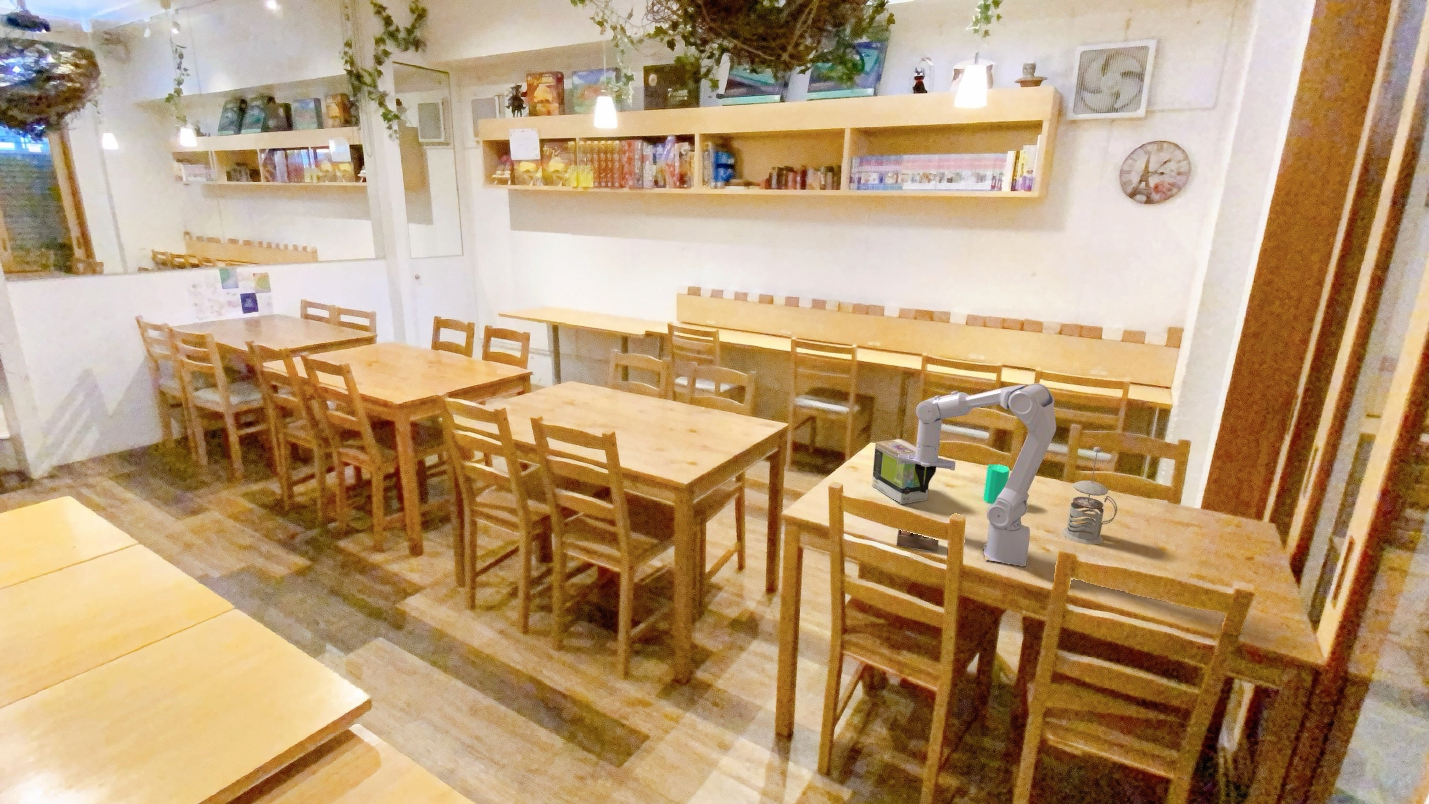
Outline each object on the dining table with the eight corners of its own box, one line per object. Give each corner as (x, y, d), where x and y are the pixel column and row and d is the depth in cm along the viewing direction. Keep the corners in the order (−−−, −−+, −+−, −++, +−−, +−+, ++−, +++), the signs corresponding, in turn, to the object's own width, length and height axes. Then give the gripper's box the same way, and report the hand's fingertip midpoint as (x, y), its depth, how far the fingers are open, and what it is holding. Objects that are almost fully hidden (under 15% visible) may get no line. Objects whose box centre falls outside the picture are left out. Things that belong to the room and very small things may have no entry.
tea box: (928, 500, 204) (933, 453, 199) (900, 505, 200) (904, 457, 196) (897, 481, 217) (901, 437, 213) (870, 486, 213) (874, 441, 209)
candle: (981, 502, 203) (986, 464, 199) (984, 494, 208) (989, 457, 204) (1003, 506, 200) (1009, 468, 197) (1005, 498, 205) (1011, 461, 202)
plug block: (937, 544, 178) (939, 533, 177) (937, 552, 174) (938, 541, 173) (897, 538, 181) (898, 527, 180) (896, 545, 177) (897, 535, 176)
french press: (1066, 523, 190) (1081, 437, 183) (1114, 536, 183) (1131, 447, 176) (1057, 536, 183) (1072, 447, 175) (1106, 550, 175) (1123, 458, 168)
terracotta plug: (913, 535, 179) (914, 522, 178) (912, 541, 176) (913, 529, 175) (899, 533, 180) (900, 520, 179) (898, 539, 177) (899, 526, 176)
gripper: (898, 444, 179) (893, 493, 183) (957, 451, 175) (951, 501, 178) (900, 436, 185) (896, 483, 189) (957, 442, 181) (951, 490, 185)
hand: (923, 491), depth 184 cm, fingers closed
